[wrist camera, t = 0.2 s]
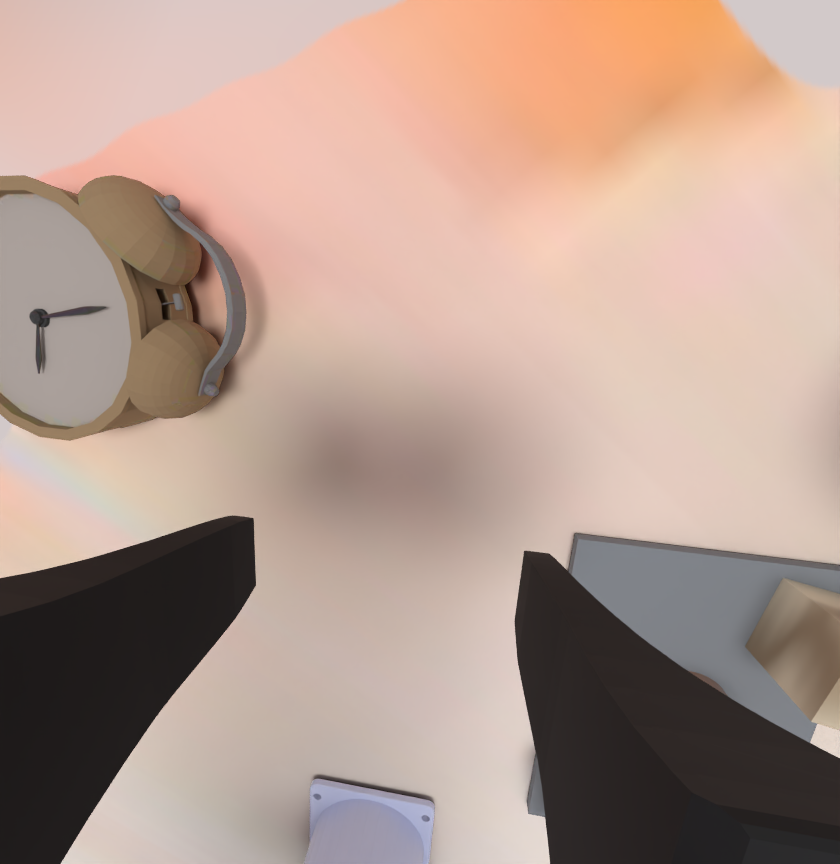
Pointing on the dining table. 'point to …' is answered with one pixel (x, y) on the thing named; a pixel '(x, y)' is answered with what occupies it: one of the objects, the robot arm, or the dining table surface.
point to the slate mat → (696, 614)
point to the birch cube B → (802, 648)
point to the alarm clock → (104, 308)
